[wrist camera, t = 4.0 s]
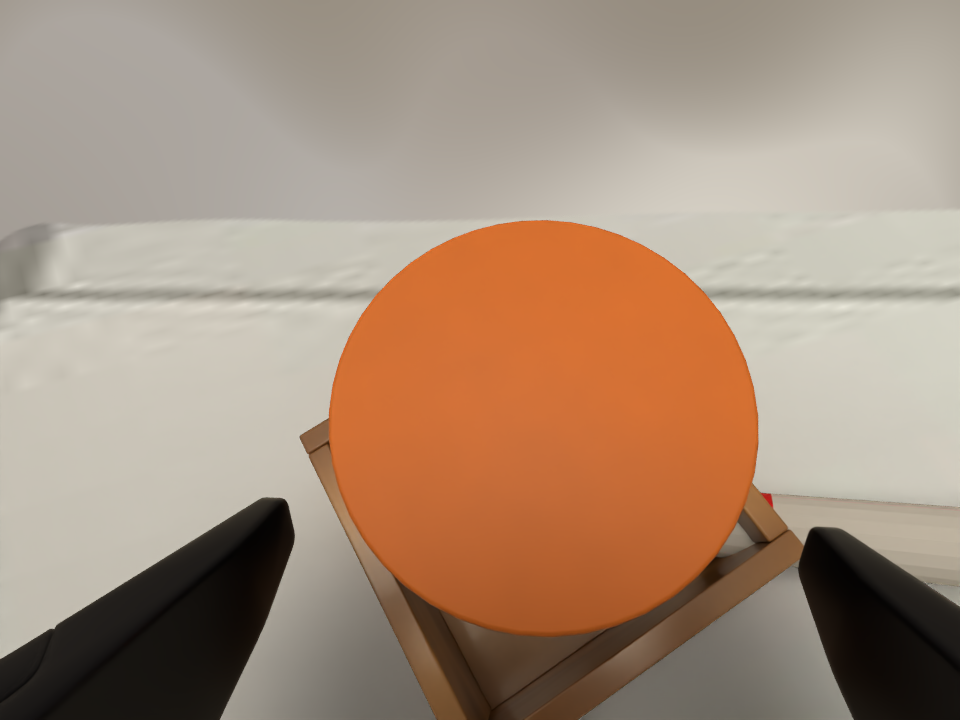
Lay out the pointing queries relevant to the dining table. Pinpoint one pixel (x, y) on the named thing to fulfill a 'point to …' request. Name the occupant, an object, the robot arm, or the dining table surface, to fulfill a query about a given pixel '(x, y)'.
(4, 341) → the dining table surface
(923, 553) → the marker
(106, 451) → the dining table surface
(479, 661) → the box
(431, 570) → the tube
